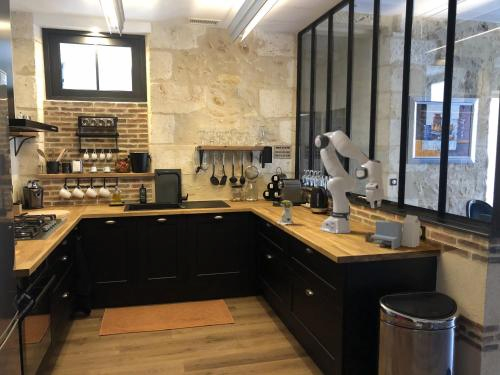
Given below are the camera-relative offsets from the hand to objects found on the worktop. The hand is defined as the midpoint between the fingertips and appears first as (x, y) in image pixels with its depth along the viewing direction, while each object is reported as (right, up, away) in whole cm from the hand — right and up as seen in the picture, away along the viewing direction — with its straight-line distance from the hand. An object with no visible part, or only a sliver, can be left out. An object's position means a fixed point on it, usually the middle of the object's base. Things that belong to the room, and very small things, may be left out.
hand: (375, 207), depth 255 cm
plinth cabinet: (+3, -23, -9) cm, 25 cm away
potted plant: (-52, -16, +60) cm, 81 cm away
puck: (+1, -23, -10) cm, 26 cm away
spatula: (+1, -22, -3) cm, 23 cm away
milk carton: (+18, -23, -10) cm, 31 cm away
